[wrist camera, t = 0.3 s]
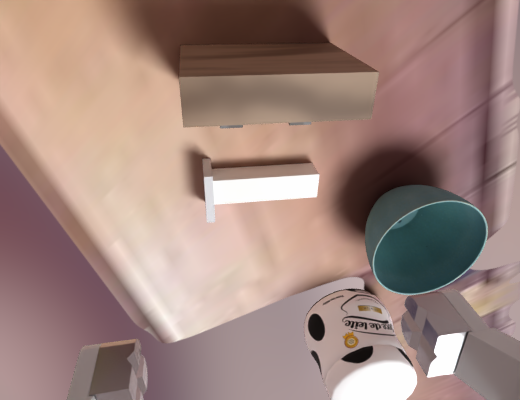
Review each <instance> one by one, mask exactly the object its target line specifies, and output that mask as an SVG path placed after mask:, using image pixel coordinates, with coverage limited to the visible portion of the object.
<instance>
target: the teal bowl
mask: <svg viewBox="0 0 520 400" xmlns="http://www.w3.org/2000/svg"><path fill="white" fill-rule="evenodd" d="M400 220H401V221H400ZM398 221H400V222H398ZM487 235H488V225H487V222H486V219H485V217H484V215H483V214H482V212H481V211H480V210H479V209H477V208H476V207H475V206H474V205H472V204H471V203H470V202H468V201H467V200H465V199H463V198H461V197H460V196H458V195H456V194H453V193H451V192H449V191H446V190H443V189H440V188H437V187H432V186H426V185H407V186H401V187H398V188H395V189H392V190H390V191H388V192H386V193H385V194H383V195H382V196H381V197H380V198H379V199H378V200H377V201H376V203H375V204H374V206H373V208H372V209H371V211H370V214H369V216H368V219H367V223H366V229H365V245H366V252H367V256H368V260H369V263H370V266H371V269H372V271H373V273H374V275H375V277H376V279H377V281H378V282H379V283H380V284H381V285H382V286H383V287H384V288H386V289H387V290H389V291H391V292H394V293H398V294H403V295H417V294H423V293H427V292H431V291H434V290H437V289H439V288H442V287H444V286H446V285H448V284H450V283H451V282H453V281H455V280H456V279H458V278H459V277H460V276H461V275H463V274H464V273H465V272H466V271H467V270H468V269H469V268H470V267H471V266H472V265H473V264H474V263H475V261H476V260H477V259H478V257H479V256H480V254H481V252H482V250H483V249H484V246H485V243H486V240H487Z"/></svg>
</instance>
